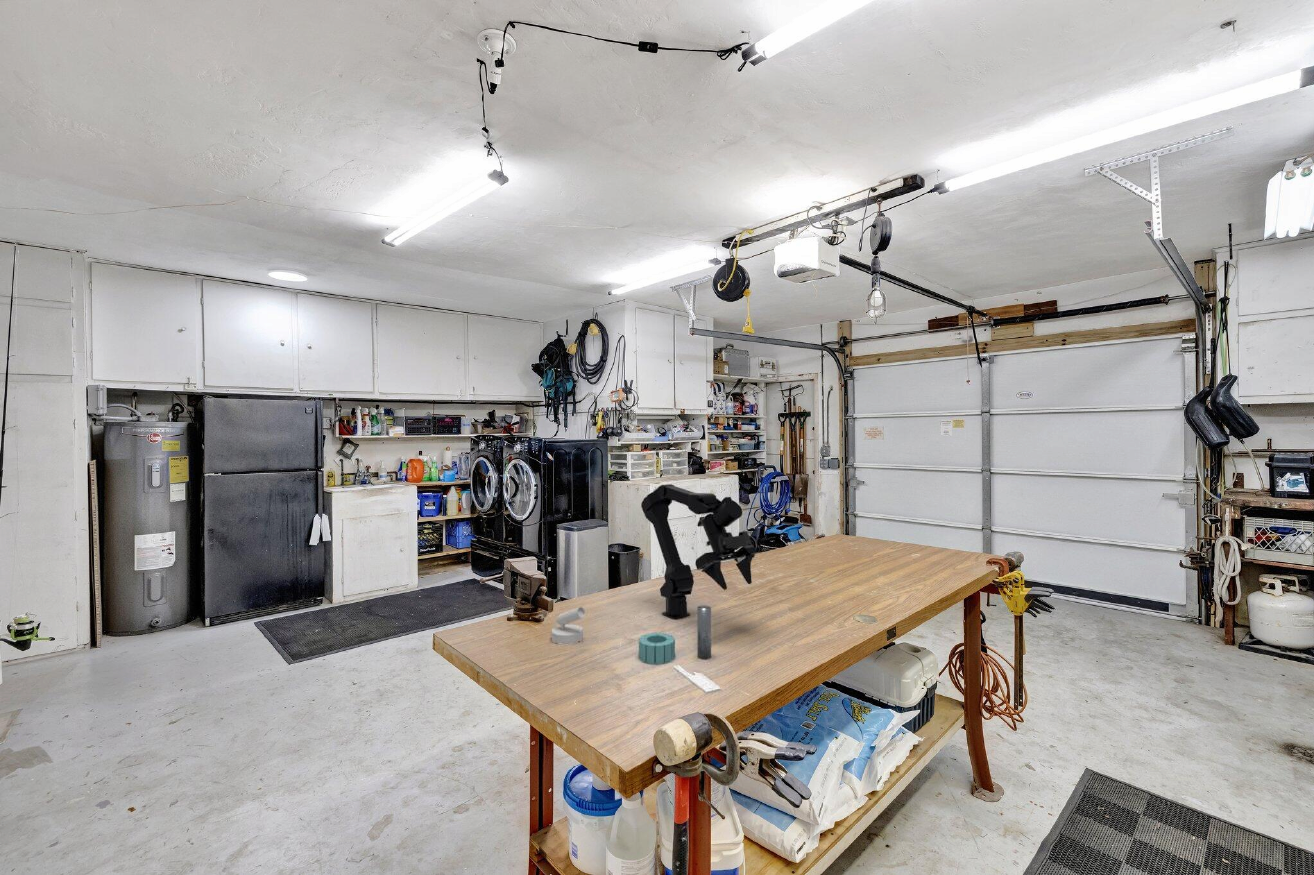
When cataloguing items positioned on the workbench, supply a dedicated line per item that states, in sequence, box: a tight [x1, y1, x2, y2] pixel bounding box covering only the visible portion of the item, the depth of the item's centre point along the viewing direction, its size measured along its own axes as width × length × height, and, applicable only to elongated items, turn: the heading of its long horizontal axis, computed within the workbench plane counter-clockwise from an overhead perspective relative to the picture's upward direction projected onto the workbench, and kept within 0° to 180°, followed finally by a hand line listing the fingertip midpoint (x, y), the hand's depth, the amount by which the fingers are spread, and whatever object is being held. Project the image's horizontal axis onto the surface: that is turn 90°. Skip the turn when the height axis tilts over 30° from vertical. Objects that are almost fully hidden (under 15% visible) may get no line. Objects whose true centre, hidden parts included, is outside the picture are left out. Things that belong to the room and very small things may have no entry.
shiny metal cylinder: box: [696, 604, 712, 660], centre depth 140 cm, size 4×4×12 cm
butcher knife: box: [673, 664, 724, 695], centre depth 128 cm, size 5×15×1 cm, turn 27°
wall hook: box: [551, 606, 586, 645], centre depth 153 cm, size 9×10×10 cm
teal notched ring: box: [638, 632, 676, 665], centre depth 140 cm, size 9×9×4 cm
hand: (738, 586), depth 150 cm, fingers open, 9 cm apart
